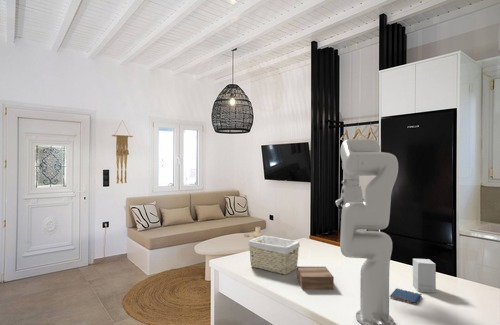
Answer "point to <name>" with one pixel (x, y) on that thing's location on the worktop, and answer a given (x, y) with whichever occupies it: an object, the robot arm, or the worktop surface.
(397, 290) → the woven mat
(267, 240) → the storage basket
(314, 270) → the walnut block
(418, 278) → the supplement box
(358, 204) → the robot arm
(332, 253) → the worktop surface
